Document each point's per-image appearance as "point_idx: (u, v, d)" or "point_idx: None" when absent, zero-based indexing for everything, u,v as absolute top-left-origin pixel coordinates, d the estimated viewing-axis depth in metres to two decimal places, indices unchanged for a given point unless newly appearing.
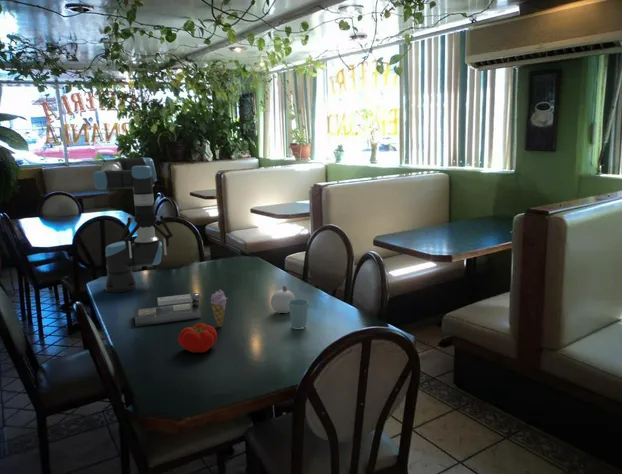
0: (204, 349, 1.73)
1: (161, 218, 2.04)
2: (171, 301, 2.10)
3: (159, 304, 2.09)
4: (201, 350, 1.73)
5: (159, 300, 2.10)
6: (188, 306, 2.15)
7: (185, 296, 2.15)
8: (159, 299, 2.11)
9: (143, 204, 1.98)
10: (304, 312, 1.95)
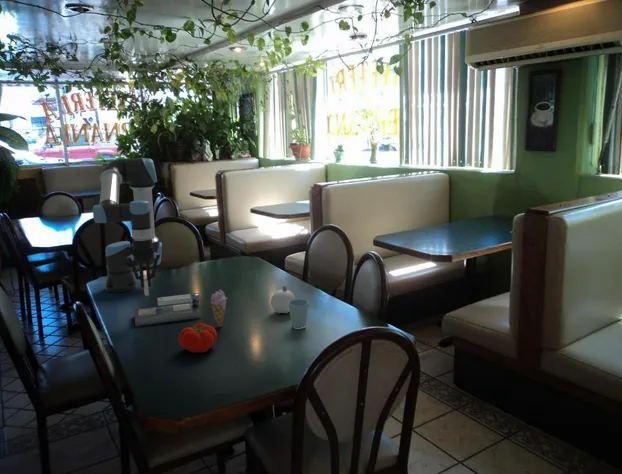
0: (204, 349, 1.73)
1: (157, 257, 2.05)
2: (171, 301, 2.10)
3: (159, 304, 2.09)
4: (201, 350, 1.73)
5: (159, 300, 2.10)
6: (188, 306, 2.15)
7: (185, 296, 2.15)
8: (159, 299, 2.11)
9: (141, 239, 2.00)
10: (304, 312, 1.95)
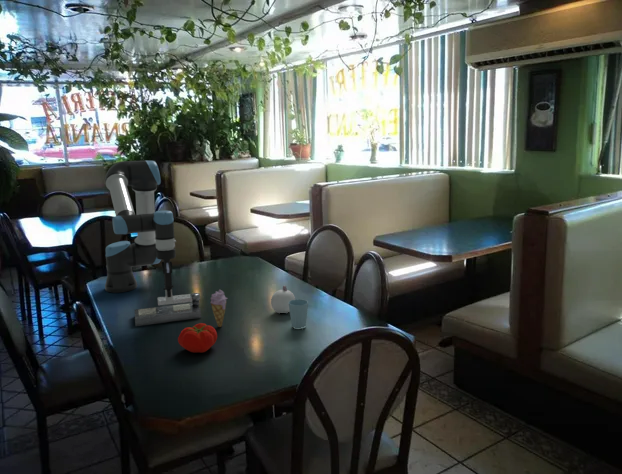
0: (204, 349, 1.73)
1: None
2: None
3: (158, 304, 2.09)
4: (201, 350, 1.73)
5: (159, 300, 2.10)
6: (188, 306, 2.15)
7: (185, 296, 2.15)
8: (159, 299, 2.11)
9: None
10: (304, 312, 1.95)
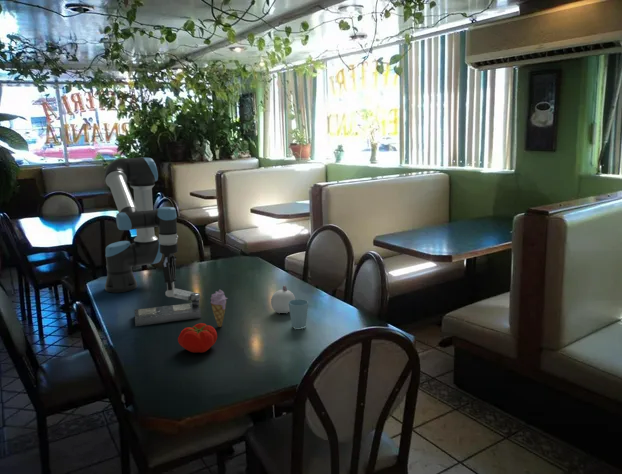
0: (204, 349, 1.73)
1: (175, 258, 2.20)
2: None
3: None
4: (201, 350, 1.73)
5: None
6: (188, 306, 2.15)
7: (188, 293, 2.18)
8: None
9: (176, 242, 2.13)
10: (304, 312, 1.95)
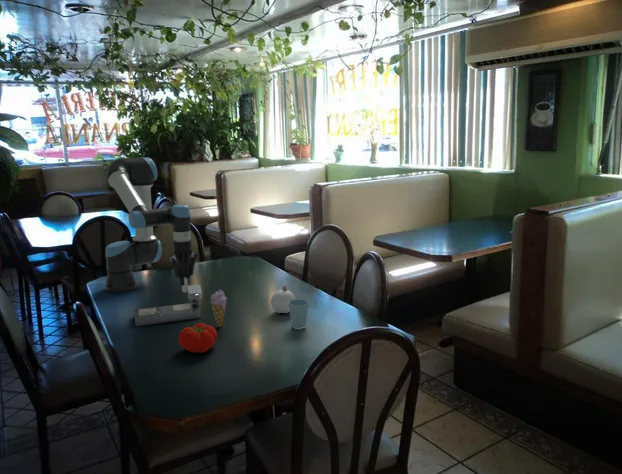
0: (204, 349, 1.73)
1: (195, 256, 2.25)
2: (188, 290, 2.25)
3: None
4: (201, 350, 1.73)
5: (191, 285, 2.30)
6: (188, 306, 2.15)
7: (194, 292, 2.20)
8: (194, 285, 2.30)
9: (185, 240, 2.18)
10: (304, 312, 1.95)
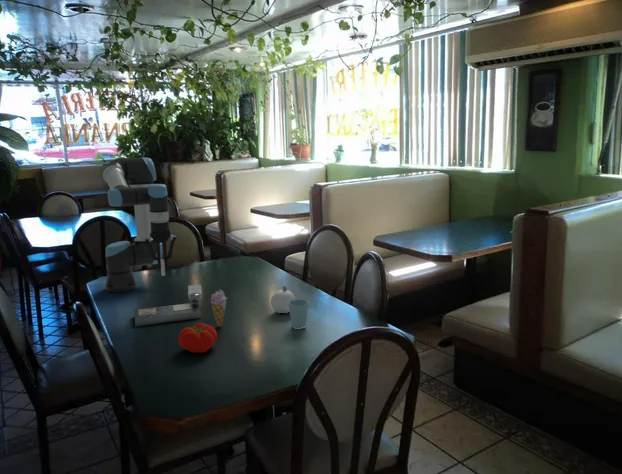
0: (204, 349, 1.73)
1: (174, 239, 2.13)
2: (188, 290, 2.25)
3: None
4: (201, 350, 1.73)
5: (191, 285, 2.30)
6: (188, 306, 2.15)
7: (195, 292, 2.20)
8: (194, 285, 2.30)
9: (159, 221, 2.07)
10: (304, 312, 1.95)
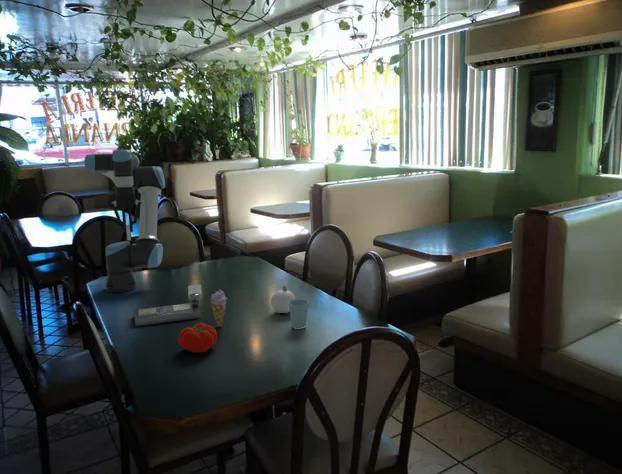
0: (204, 349, 1.73)
1: (139, 204, 2.18)
2: (188, 290, 2.25)
3: None
4: (201, 350, 1.73)
5: (191, 285, 2.30)
6: (188, 306, 2.15)
7: (195, 292, 2.20)
8: (194, 285, 2.30)
9: (123, 185, 2.13)
10: (304, 312, 1.95)
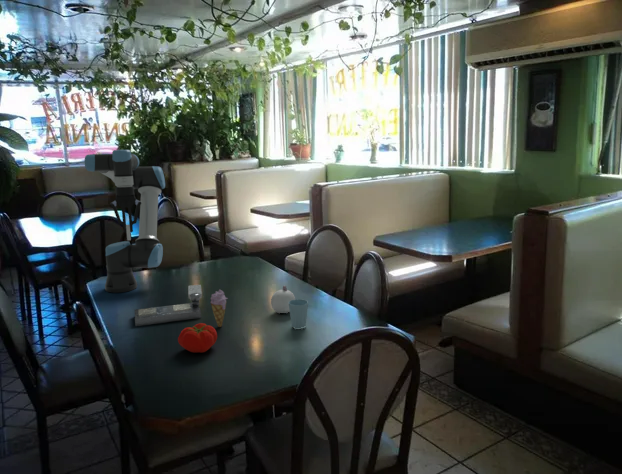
0: (204, 349, 1.73)
1: (139, 204, 2.18)
2: (188, 290, 2.25)
3: None
4: (201, 350, 1.73)
5: (191, 285, 2.30)
6: (188, 306, 2.15)
7: (195, 292, 2.20)
8: (194, 285, 2.30)
9: (123, 185, 2.13)
10: (304, 312, 1.95)
